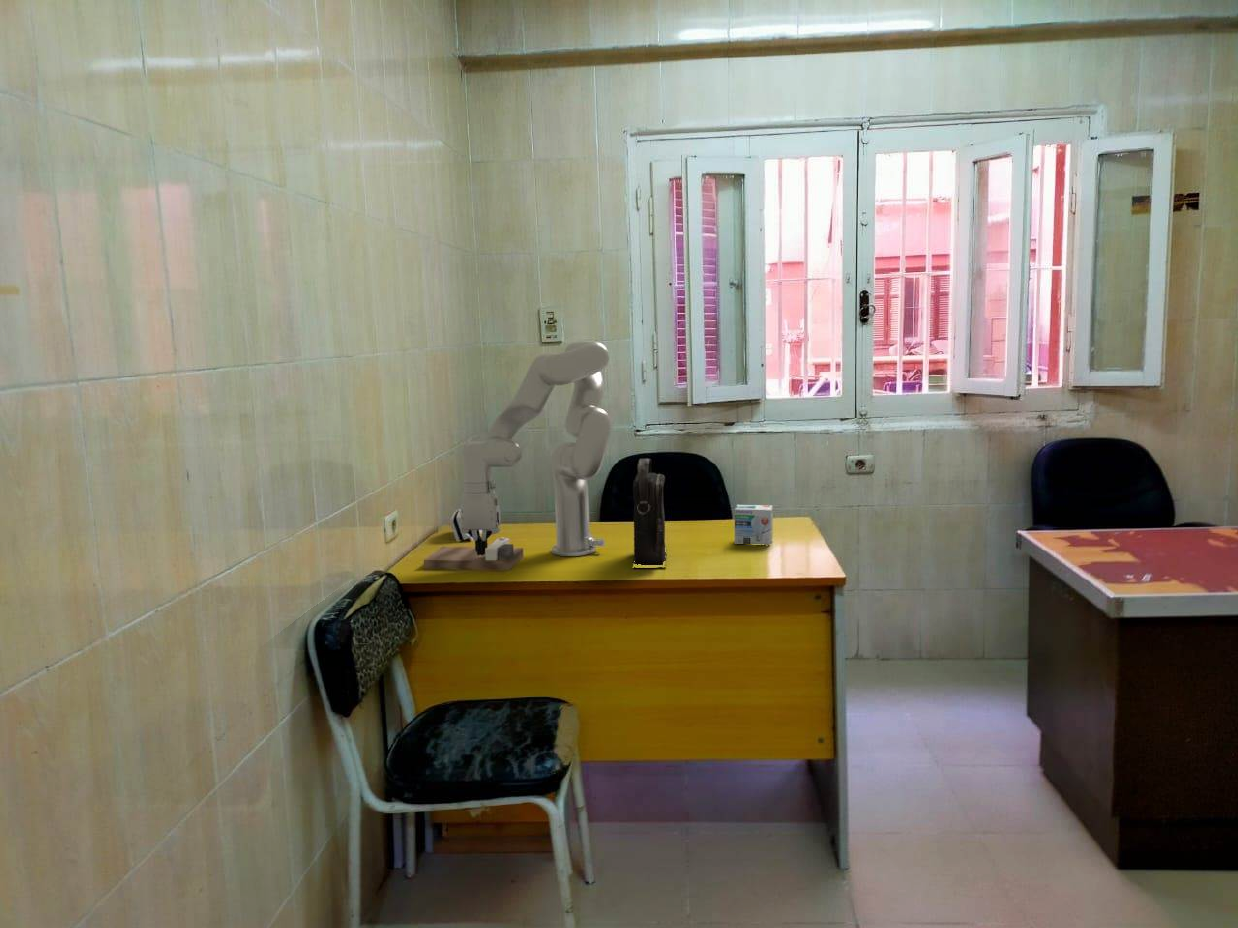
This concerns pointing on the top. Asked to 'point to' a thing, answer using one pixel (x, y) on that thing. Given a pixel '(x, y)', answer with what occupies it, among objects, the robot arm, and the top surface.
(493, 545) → the folding leg
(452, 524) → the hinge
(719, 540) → the top surface
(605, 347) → the robot arm
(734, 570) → the top surface
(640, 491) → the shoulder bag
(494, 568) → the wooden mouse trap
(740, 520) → the light bulb box
